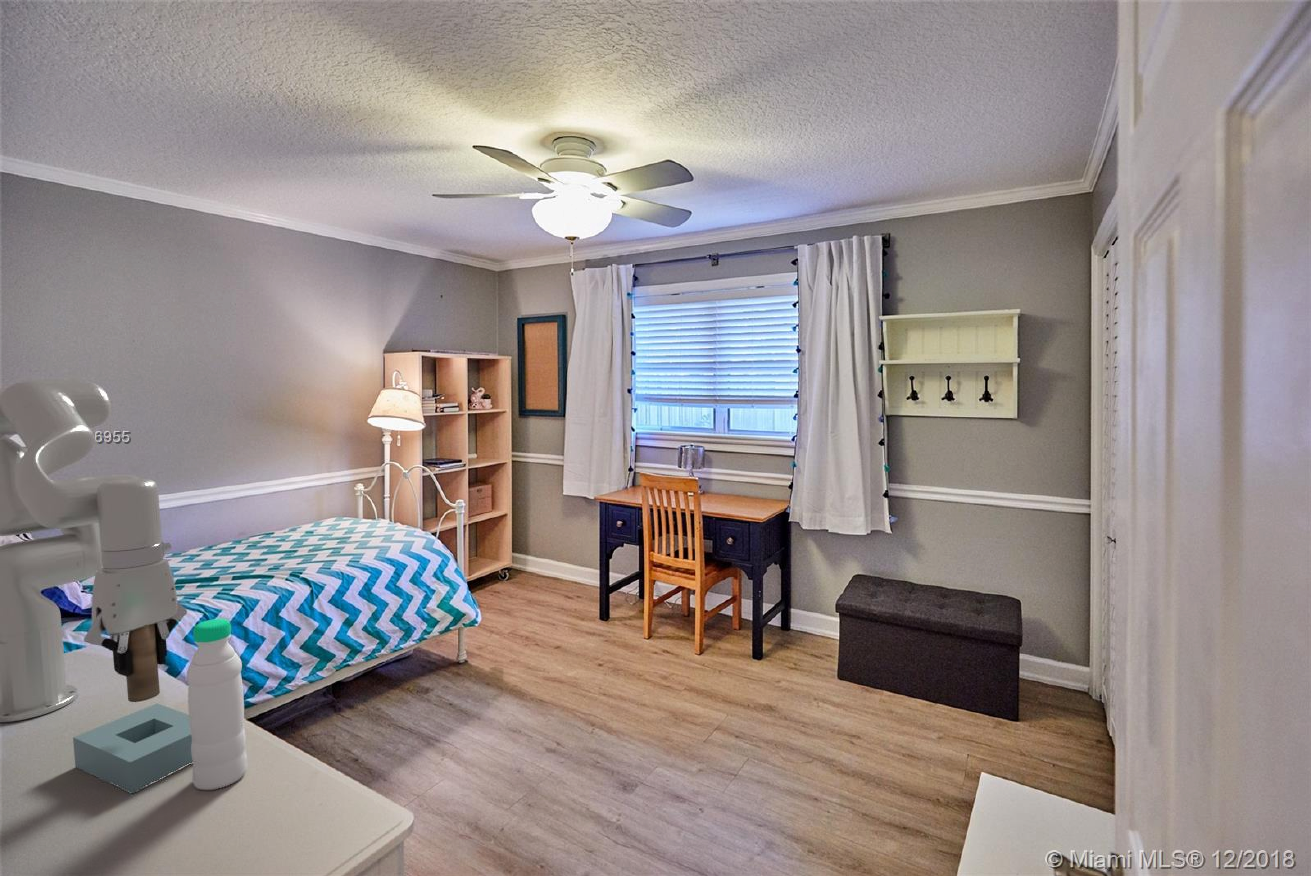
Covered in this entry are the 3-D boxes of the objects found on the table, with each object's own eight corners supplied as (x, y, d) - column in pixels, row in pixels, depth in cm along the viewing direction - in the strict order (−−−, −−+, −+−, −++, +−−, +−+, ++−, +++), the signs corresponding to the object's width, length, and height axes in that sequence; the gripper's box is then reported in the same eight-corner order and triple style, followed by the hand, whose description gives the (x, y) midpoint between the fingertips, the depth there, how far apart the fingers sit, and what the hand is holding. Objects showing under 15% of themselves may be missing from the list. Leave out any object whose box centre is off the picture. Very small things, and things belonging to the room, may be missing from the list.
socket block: (75, 767, 103) (73, 737, 103) (158, 730, 114) (157, 703, 114) (132, 794, 97) (130, 762, 96) (215, 752, 107) (213, 723, 107)
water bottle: (220, 795, 96) (211, 633, 94) (181, 789, 98) (171, 629, 96) (258, 767, 103) (250, 616, 101) (221, 762, 105) (212, 612, 102)
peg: (122, 699, 103) (115, 613, 102) (150, 688, 107) (144, 605, 106) (137, 704, 101) (130, 617, 100) (165, 692, 105) (158, 609, 104)
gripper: (176, 543, 111) (183, 645, 113) (54, 568, 96) (64, 686, 98) (203, 547, 108) (210, 652, 110) (81, 573, 93) (91, 696, 95)
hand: (141, 667), depth 104 cm, fingers closed on peg, 4 cm apart
